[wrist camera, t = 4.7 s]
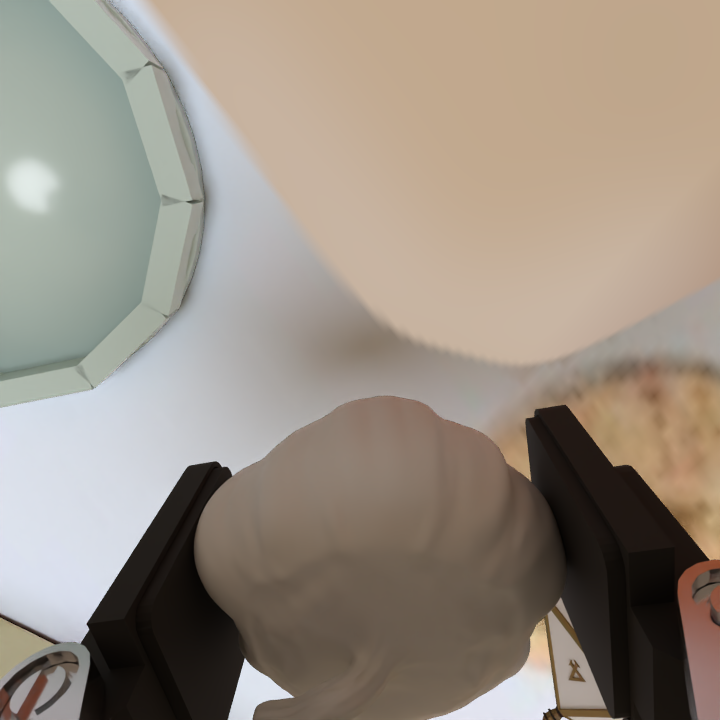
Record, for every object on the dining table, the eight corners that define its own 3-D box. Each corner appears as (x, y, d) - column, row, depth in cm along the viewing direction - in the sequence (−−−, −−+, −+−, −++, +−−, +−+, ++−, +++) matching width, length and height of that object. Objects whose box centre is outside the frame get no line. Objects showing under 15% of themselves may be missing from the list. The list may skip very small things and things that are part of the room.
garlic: (251, 577, 12) (166, 852, 7) (227, 361, 10) (90, 537, 5) (511, 581, 12) (601, 868, 7) (535, 360, 10) (680, 544, 5)
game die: (527, 514, 26) (443, 603, 18) (711, 460, 22) (714, 545, 14) (610, 696, 25) (561, 887, 16) (829, 678, 20) (914, 928, 12)
